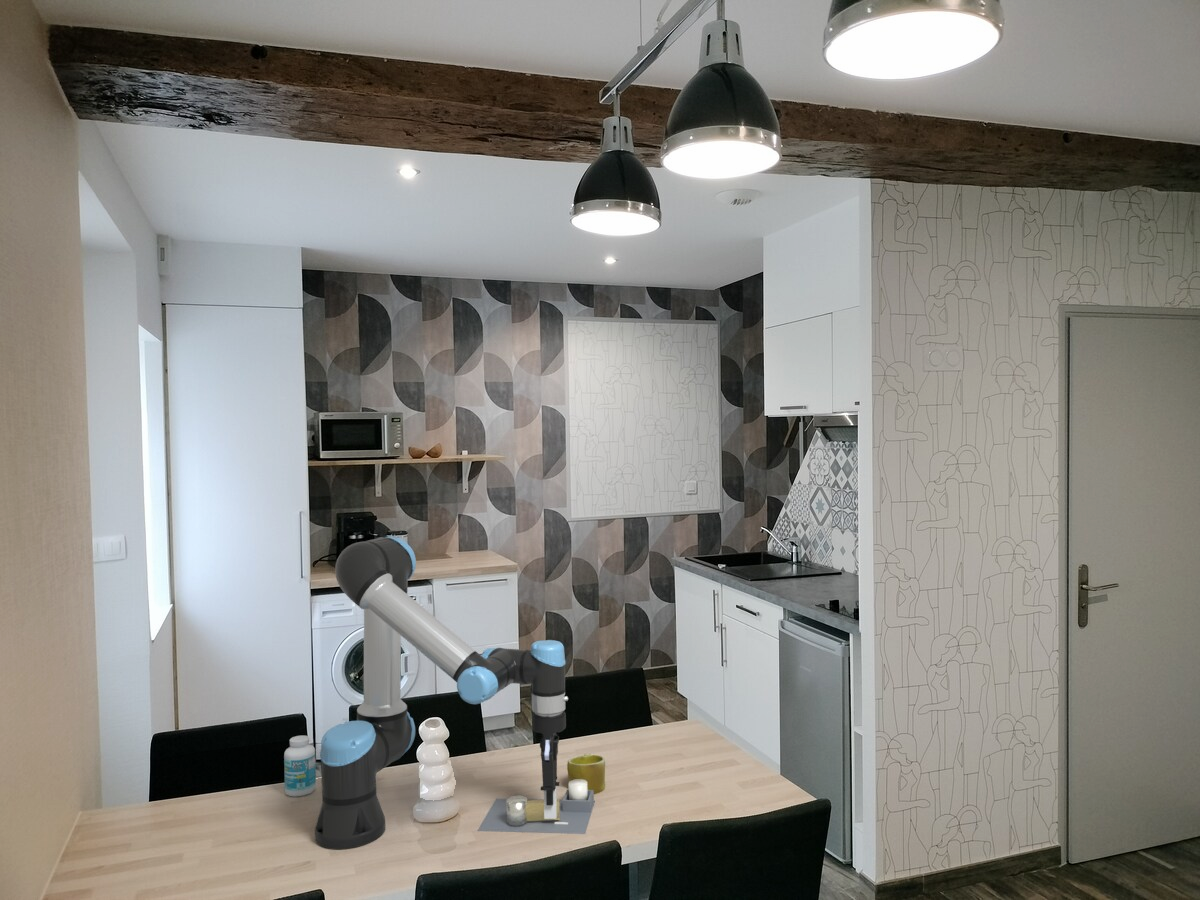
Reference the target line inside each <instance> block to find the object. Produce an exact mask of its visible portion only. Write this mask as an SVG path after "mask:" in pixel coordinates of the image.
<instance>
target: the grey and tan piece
mask: <svg viewBox="0 0 1200 900" xmlns="http://www.w3.org/2000/svg"><path fill="white" fill-rule="evenodd" d="M506 799H507V800H506V802H507V823H508V824H509V825H512V826H520V825H523V824H525V823H527V821H544V820H560V810H559V800H560V799H559V798H557V818H556V819H544V799H543V800H533V801H527V799H528V797H526V796H524V795H513V796H510V797H508V798H506Z"/></svg>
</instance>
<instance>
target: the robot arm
mask: <svg viewBox="0 0 1200 900" xmlns="http://www.w3.org/2000/svg"><path fill="white" fill-rule="evenodd" d="M416 567H417V559H416V555H415V552H414V550H413V548H412V547H411V546H410V545H409V544H408V542H407V541H405V540H403V539H402V538H399V537H396V536H382V537H381V536H380V537H377V538H374V539H373V538H372V539H369V540H365V541H359V542H354V543H352V544H350V545H348V546H346V547H345V548H344V549H343V550H342V551H341V553H340V554H339V556H338V558H337V559H336V562H335V569H334V573H335V578H336V582H337V583H338V586H339V588H340V589H341V591H342V592H343V593H344V594H345V596H347V597H348V598H349V599H350V600H351V602H353V603H354V604H355V605H356V606H358V607H359V609H361V610H363V702H362V703H361V704H360V705H359V706H358V707H357V709H356V720H351V721H346V722H344V723H340V724H336V725H334V726H333V727H331V728H329V729H328V730H326V732H325V733H324V734H323V735H322V737H321V741H320V752H319V756H320V766H321V767H320V768H321V771H320V772H321V798H322V800H321V807H320V810H319V813H318V816H317V821H316V824H315V826H314V827H315V828H314V841H315V843H316V844H317V845H318V846H320V847H321V848H326V849H333V850H343V849H351V848H353V849H354V848H357V847H361V846H364V845H367V844H370V843H373V842H374V841H375V840H377V839H379V838H380V837H381V836H382V835H383V834H384V833H385V832H386V816H385V814H384V811H383V809H382V805H381V803H380V801H379V798H378V795H377V773H378V772H380V771H381V770H383V769H384V768H386V767H387V766H389V765H390V764H391V763H394V762H396V761H398V760H399V759H401V758H402V756H404V754H405V753H407V752H408V750H409V749H410V748H411V746H412V745H413V743H414V740H415V737H416V725H415V722H414V718H413V717H412V716H410V713H409V712H408V704H406V702H404V701H403V700H402V698H401V681H402V680H401V676H402V675H401V674H402V671H401V665H402V664H401V663H402V662H401V659H402V657H401V655H402V654H401V653H402V652H401V648H402V646H401V645H402V643H401V642H402V638H403V639H405V640H406V641H407V642H408V643H409V644H411V646H413V647H414V648H415V649H416V650H418V651H419V653H422V654H423V656H425V657H426V658H427V659H428V660H429V661H431V662H432V664H434V665H435V666H437V667H438V668H439V669H440V670H441V671H443V672H444V673H445V674H446V675H448V676H449V677H450V678H451V679H452V680H454V681H455V683H456V690H457V692H458V694H459V697H460V698H461V700H463V702H466V703H468V704H470V705H479V704H482V703H484V702H486V701H488V700H490V699H492V698H493V697H494V696H496V695H497V694H498V693H499V692H500V691H501V690H504V689H505V688H506V687H508V686H509V685H511V684H518V685H519V684H521V685H531V712H532V715H531V721H532V722H531V723H532V725H531V726H532V730H533V731H534V732H535V733H538V734H539V733H540V734H542V735H541V736H540V739H539V748H540V758H541V767H542V768H541V770H542V771H541V773H542V775H541V777H542V785H541V786H540V791H542V792H543V800H544V819H556V818H557V799H558V798H557V796H558V793H557V787H560V781H557V780H558V753H559V742H560V736H559V735H558V733H561V732H563V731H564V730H565V729H566V727H567V718H566V717H567V715H566V714H567V713H566V711H565V710H566V702H568V700H569V697H568V696H567V695H566V656H565V647H564V644H563V643H562V642H561V641H558V640H553V639H547V640H546V639H545V640H537V641H534V642H533V643H532V644H531V647H530V649H520V648H519V649H518V648H505V647H504V648H503V647H492V648H491V647H490V648H485V650H483V652H482V654H480V653H479V652H478V651H476V650H474V648H472V647H471V646H470V645H469V644H467V643H466V642H465V641H464V640H463V639H462V638H461V637H459V636H458V635H457V634H456V633H454V632H453V631H452V630H451V629H450V628H448V627H447V626H446V625H445V624H444V623H443V622H441V621H440V620H439V619H437V617H435V616H434V615H433V614H431V613H430V612H429V611H428V610H427V609H426V608H425V607H423V606H422V605H421V604H419V603H418V602H417V601H416V600H415V599H414V598H412V597H411V596H410V595H409V594H408V584H409V583H408V581H409V580H410V578H411V577H412V576H413V575H414V573H415V571H416ZM565 695H566V696H565Z"/></svg>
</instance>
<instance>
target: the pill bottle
mask: <svg viewBox="0 0 1200 900" xmlns="http://www.w3.org/2000/svg"><path fill="white" fill-rule="evenodd" d="M283 754H284V755H283V759H284V760H283V763H284V765H283V766H284V793H285V794H286V795H287V796H289V797H297V798H298V797H304V796H307V795H310V794H312V793H313V792H314V791H315V790H316V787H317V782H316V781H317V780H316V779H317V777H316V776H317V775H316V773H317V771H316V767H317V766H316V749H315V747H314V745H312V744H310V737H309V735H296V736H292V737H291V738H290V739H289V747H288V748H286V749H285V751H284V753H283Z"/></svg>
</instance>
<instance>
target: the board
mask: <svg viewBox="0 0 1200 900" xmlns="http://www.w3.org/2000/svg"><path fill="white" fill-rule="evenodd" d="M507 799H508V798H495V800H494V801H493V802H492V805H491V807H490V809H489V810H488V812H487V814H486V815H485V817H484V818H483V820H482V822H481V824H480V825H479V827H478V829H477V832H496V833H497V832H500V833H503V832H504V833H530V834H531V833H536V834H537V833H538V834H540V833H541V834H567V835H569V834H571V835H572V834H573V835H574V834H575V835H586V833H587V830H588V826H589V823H590V819H591V815H592V813H593V809H594V806H595V803H596V800H595V794H594V790H588V800H569V789H566V791H565V794H564V796H563V799H559V810H560V820H544V821H527V823H525V824H523V825H520V826H512V825H509V824H508V823H507V802H506V800H507ZM533 800H544V798H543V799H540V798H539V799H537V798H535V799H534V798H533V799H532V798H530V799H529V798H527V801H533Z"/></svg>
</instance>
